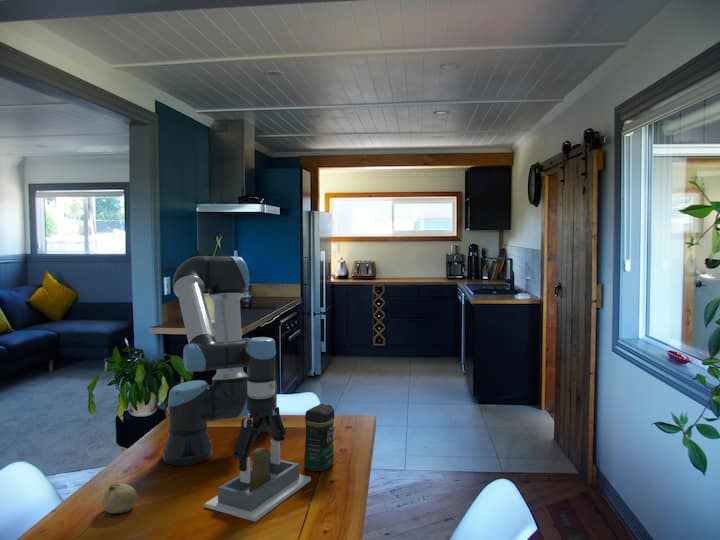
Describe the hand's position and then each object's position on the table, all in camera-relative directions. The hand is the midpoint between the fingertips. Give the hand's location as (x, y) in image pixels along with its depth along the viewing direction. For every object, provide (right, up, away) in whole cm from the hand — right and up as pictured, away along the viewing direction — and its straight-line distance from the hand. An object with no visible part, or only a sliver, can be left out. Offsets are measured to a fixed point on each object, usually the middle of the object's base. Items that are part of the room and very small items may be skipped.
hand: (260, 472), depth 144 cm
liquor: (-9, -4, +52) cm, 53 cm away
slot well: (0, -6, 0) cm, 6 cm away
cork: (0, -5, 0) cm, 5 cm away
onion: (-34, -6, -10) cm, 36 cm away
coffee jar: (+15, -5, +19) cm, 24 cm away
